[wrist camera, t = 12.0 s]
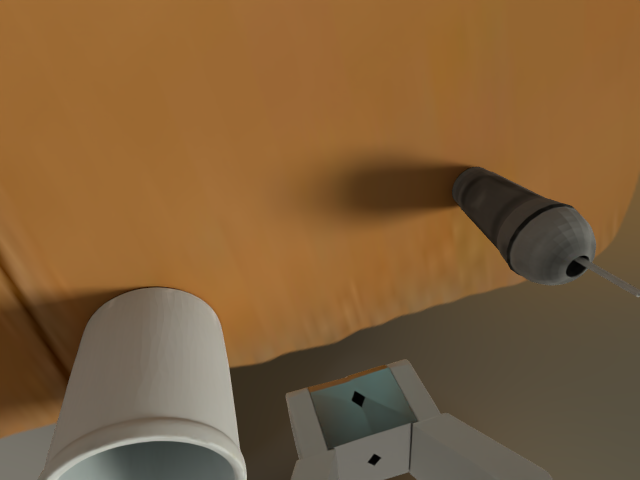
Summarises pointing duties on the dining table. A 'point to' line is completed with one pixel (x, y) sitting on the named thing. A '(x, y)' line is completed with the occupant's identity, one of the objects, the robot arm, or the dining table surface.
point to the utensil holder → (148, 395)
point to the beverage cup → (530, 229)
